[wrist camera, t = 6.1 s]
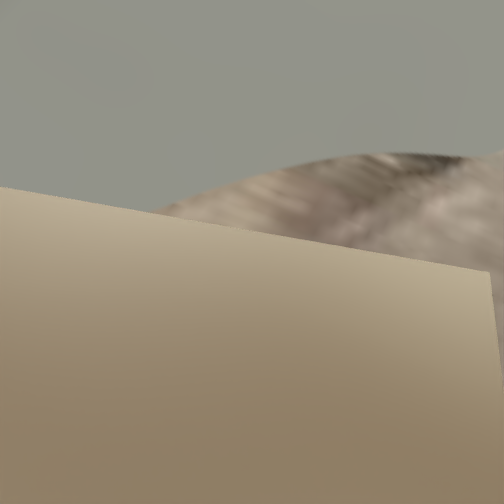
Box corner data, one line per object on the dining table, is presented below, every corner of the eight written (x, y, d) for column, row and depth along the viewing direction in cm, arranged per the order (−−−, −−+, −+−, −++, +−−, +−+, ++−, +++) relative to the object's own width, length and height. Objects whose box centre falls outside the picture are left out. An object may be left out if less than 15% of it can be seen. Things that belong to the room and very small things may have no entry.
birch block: (255, 552, 13) (608, 1261, 2) (99, 533, 13) (-579, 1233, 2) (272, 391, 15) (489, 272, 4) (138, 371, 15) (-38, 179, 4)
